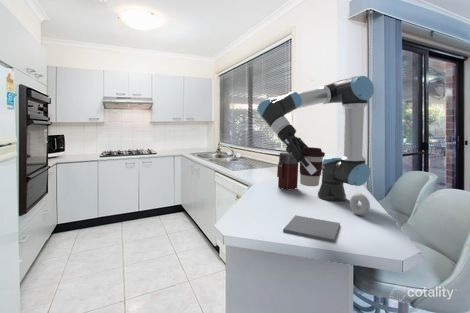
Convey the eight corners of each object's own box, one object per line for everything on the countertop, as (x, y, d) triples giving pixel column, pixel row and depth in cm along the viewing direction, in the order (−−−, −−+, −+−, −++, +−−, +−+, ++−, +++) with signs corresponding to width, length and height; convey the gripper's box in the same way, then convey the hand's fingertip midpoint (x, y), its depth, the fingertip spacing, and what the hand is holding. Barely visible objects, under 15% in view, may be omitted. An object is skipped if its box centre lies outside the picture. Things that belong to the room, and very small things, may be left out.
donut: (370, 218, 112) (372, 196, 111) (365, 219, 111) (366, 196, 110) (353, 211, 121) (354, 190, 120) (347, 212, 120) (348, 191, 119)
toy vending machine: (275, 187, 168) (276, 145, 165) (287, 186, 174) (289, 145, 171) (284, 190, 160) (286, 146, 157) (297, 188, 166) (299, 146, 163)
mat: (295, 217, 111) (295, 215, 111) (339, 225, 103) (339, 223, 103) (283, 231, 95) (283, 229, 95) (334, 242, 87) (334, 239, 87)
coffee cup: (312, 188, 96) (315, 149, 95) (291, 183, 104) (294, 146, 102) (327, 185, 102) (330, 148, 101) (306, 181, 110) (309, 146, 108)
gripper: (287, 135, 119) (319, 173, 112) (265, 135, 100) (301, 180, 93) (299, 124, 115) (332, 163, 108) (278, 122, 97) (317, 168, 90)
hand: (318, 171), depth 101 cm, fingers closed on coffee cup, 10 cm apart
